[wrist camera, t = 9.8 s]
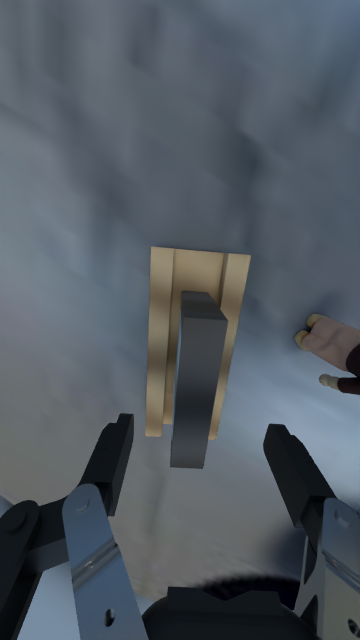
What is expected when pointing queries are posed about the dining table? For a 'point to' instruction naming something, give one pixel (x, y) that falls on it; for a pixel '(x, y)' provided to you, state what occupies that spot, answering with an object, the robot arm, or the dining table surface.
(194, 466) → the dark grey block
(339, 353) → the grandmother figurine
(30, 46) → the dining table surface
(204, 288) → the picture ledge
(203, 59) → the dining table surface
